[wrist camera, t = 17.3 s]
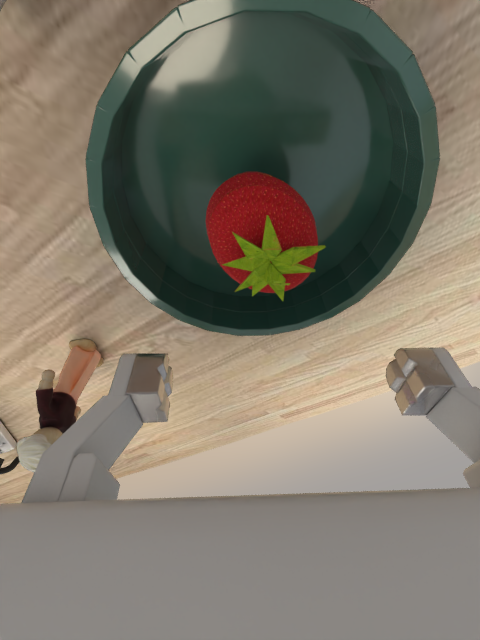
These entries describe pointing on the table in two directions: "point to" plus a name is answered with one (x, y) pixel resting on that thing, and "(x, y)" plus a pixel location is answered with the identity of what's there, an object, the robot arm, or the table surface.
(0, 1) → the network device
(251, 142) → the bowl
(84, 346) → the grandmother figurine
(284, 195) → the strawberry
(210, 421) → the table surface
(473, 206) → the table surface
